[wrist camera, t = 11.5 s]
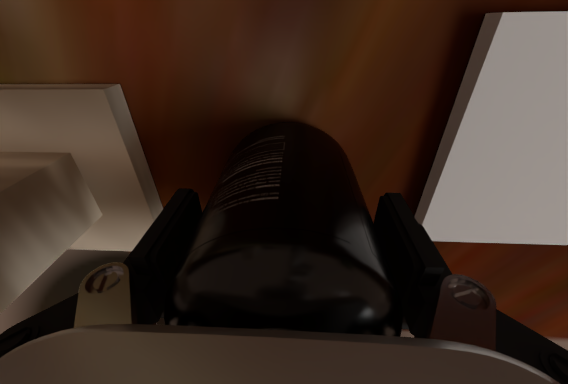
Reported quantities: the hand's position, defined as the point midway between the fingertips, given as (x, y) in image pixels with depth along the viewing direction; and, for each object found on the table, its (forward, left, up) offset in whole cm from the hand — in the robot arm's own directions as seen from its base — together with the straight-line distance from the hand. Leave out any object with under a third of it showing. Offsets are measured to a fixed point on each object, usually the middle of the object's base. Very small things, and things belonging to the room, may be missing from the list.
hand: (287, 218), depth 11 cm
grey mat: (-2, +13, -3) cm, 14 cm away
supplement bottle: (0, 0, -4) cm, 4 cm away
